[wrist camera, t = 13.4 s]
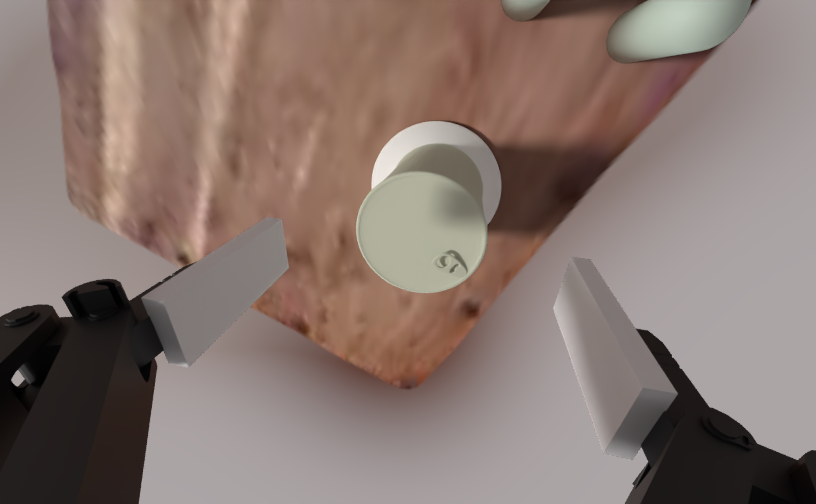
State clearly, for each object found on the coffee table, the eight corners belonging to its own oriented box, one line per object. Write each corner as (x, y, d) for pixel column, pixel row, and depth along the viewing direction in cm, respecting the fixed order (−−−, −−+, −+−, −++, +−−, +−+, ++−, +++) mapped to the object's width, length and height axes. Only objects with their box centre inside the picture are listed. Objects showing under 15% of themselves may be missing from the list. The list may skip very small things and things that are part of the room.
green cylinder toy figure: (440, 249, 35) (427, 319, 24) (373, 195, 33) (328, 244, 23) (503, 186, 31) (520, 237, 20) (429, 121, 29) (406, 139, 19)
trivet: (373, 239, 36) (371, 241, 36) (373, 115, 30) (371, 116, 30) (488, 253, 35) (489, 256, 34) (513, 126, 29) (514, 126, 28)
